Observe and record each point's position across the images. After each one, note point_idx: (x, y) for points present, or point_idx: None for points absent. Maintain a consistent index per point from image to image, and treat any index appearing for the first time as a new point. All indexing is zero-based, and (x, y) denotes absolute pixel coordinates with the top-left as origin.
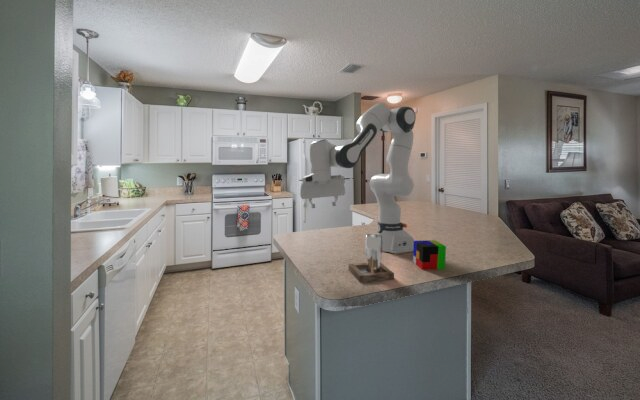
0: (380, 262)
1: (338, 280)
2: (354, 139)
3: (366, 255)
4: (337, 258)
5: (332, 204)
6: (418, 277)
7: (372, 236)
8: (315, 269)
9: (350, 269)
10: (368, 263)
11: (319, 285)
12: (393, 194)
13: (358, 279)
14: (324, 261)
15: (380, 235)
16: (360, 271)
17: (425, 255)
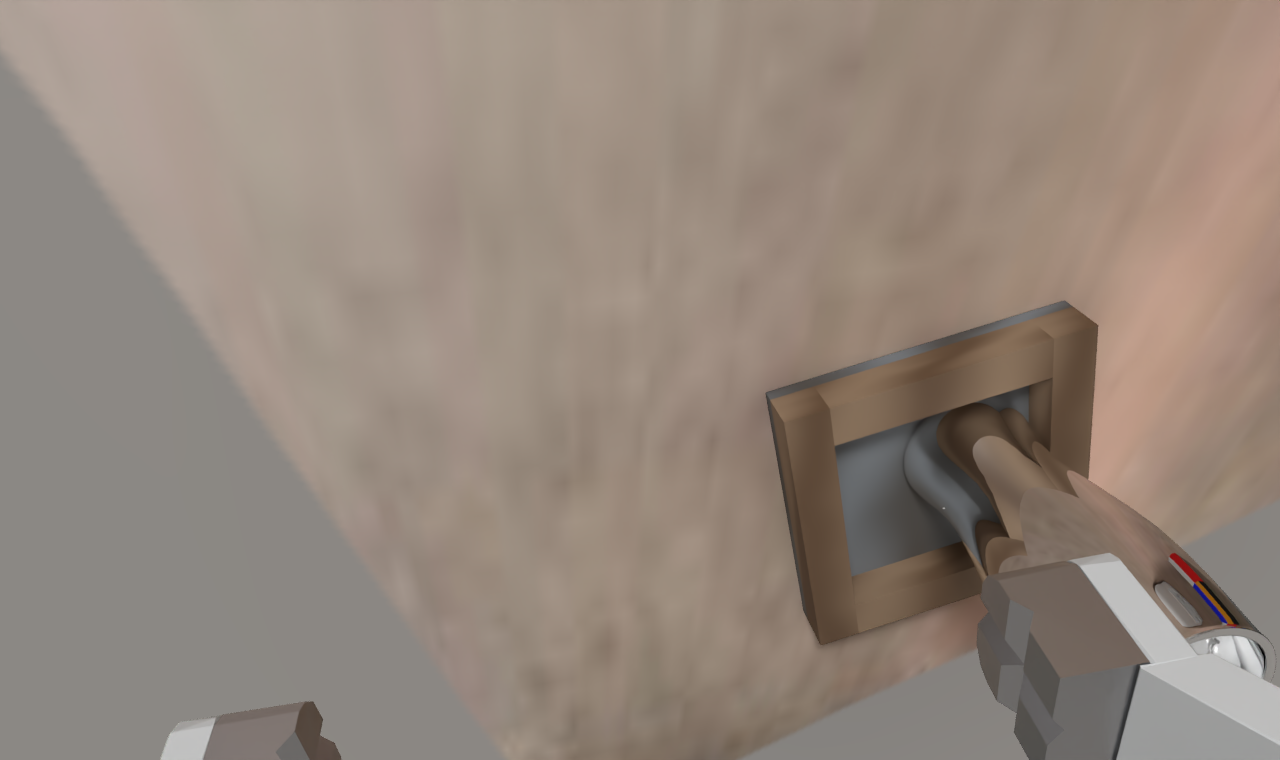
0: (1095, 345)
1: (654, 612)
2: None
3: (977, 563)
4: (684, 42)
5: (1010, 649)
6: (1235, 471)
7: (1186, 608)
8: (440, 435)
9: (780, 451)
10: (953, 527)
11: (515, 704)
12: None
13: (804, 600)
14: (515, 180)
15: (1264, 658)
16: (848, 571)
17: None
